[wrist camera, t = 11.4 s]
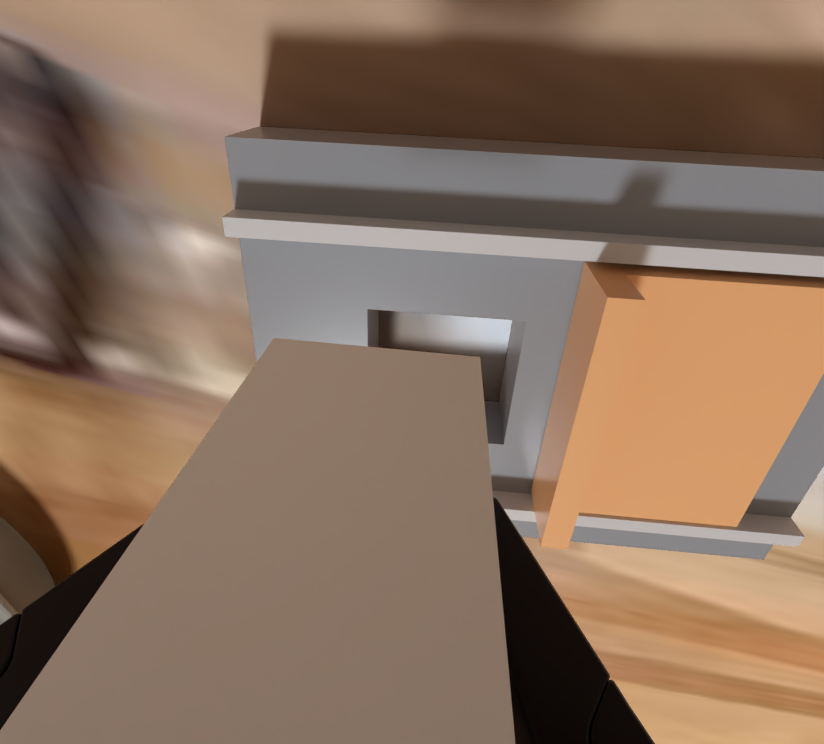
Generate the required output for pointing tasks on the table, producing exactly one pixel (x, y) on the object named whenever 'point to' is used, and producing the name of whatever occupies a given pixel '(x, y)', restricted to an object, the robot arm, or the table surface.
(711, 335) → the shutter
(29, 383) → the table surface
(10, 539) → the cake pan
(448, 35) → the table surface
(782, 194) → the socket plate
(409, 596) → the plug
